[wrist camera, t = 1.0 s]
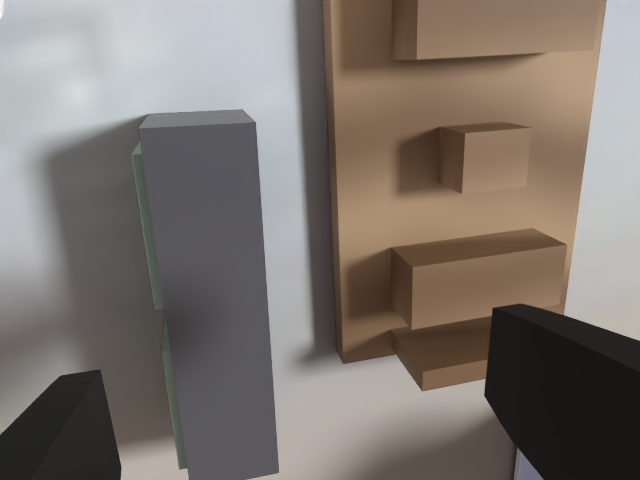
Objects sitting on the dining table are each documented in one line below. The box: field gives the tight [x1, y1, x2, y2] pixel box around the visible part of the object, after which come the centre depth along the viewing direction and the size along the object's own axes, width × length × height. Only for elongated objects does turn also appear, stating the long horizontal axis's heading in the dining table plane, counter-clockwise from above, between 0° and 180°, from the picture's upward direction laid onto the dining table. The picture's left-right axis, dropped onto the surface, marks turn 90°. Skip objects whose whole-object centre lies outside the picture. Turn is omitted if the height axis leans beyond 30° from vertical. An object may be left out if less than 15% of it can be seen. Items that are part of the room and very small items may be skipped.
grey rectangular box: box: [131, 109, 279, 480], centre depth 17 cm, size 12×3×4 cm, turn 1°
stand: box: [322, 0, 607, 391], centre depth 17 cm, size 16×10×4 cm, turn 3°
